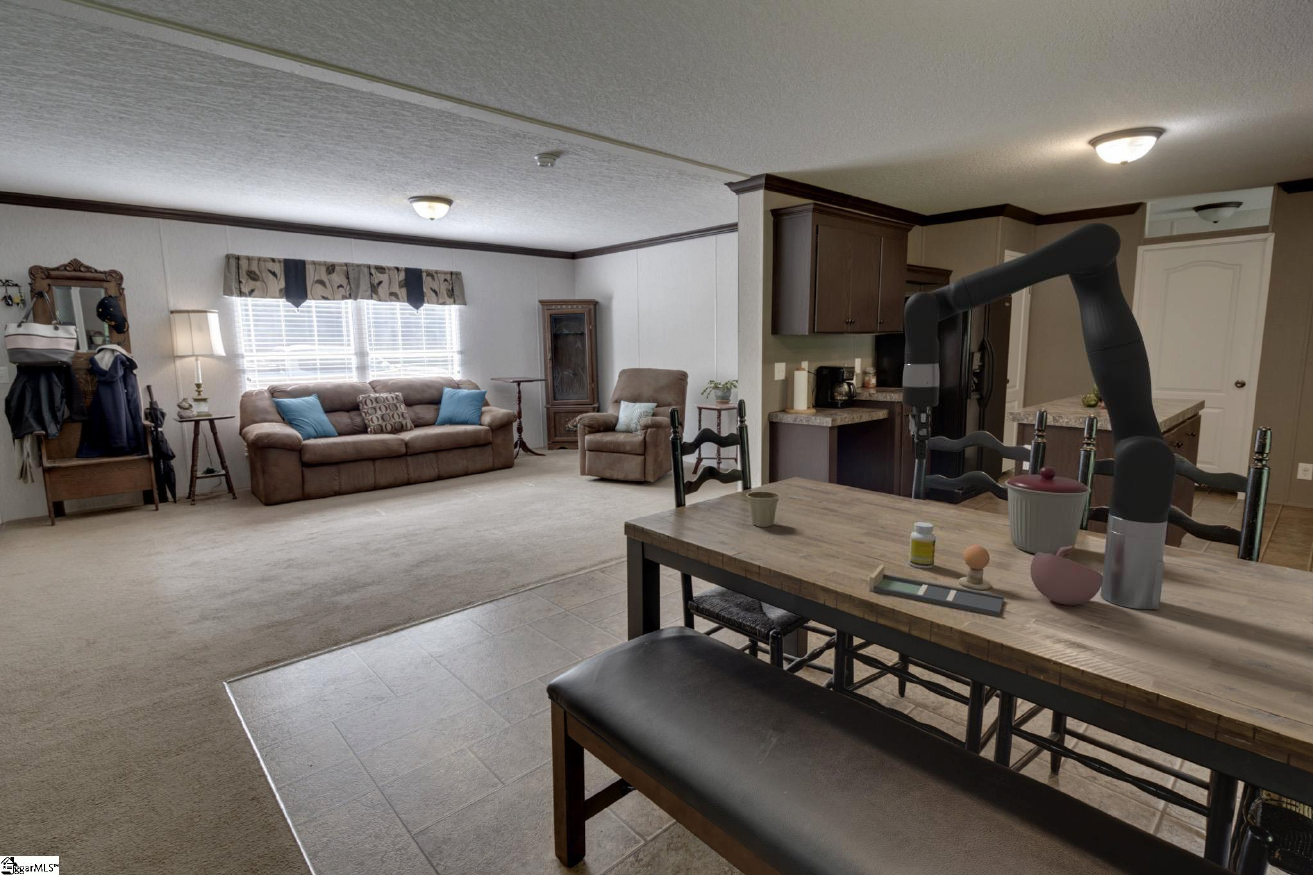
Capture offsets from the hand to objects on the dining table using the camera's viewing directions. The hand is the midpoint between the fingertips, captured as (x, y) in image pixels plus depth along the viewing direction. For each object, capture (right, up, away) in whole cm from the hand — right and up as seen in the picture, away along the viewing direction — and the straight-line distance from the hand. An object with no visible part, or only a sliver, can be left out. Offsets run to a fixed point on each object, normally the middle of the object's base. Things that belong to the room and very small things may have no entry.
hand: (918, 456), depth 144 cm
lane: (-2, -28, -14) cm, 31 cm away
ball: (+9, -21, -9) cm, 25 cm away
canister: (+37, -24, +15) cm, 47 cm away
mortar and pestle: (+22, -29, -17) cm, 40 cm away
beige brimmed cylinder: (+9, -27, -8) cm, 30 cm away
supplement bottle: (+2, -26, +4) cm, 26 cm away
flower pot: (-29, -21, +39) cm, 52 cm away
